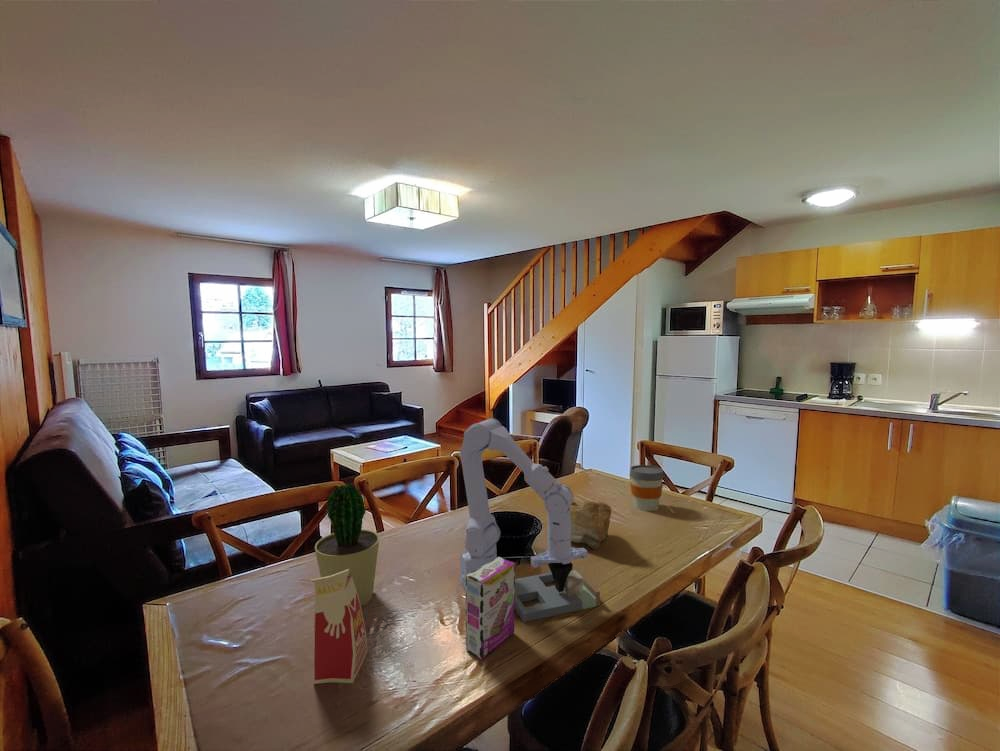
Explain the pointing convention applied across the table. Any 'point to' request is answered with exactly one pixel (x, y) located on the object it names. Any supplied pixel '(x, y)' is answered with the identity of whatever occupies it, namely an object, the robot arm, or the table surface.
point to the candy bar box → (489, 606)
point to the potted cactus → (349, 542)
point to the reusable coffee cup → (646, 486)
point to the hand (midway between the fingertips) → (559, 589)
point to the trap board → (551, 597)
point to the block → (573, 584)
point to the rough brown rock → (590, 523)
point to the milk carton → (338, 630)
